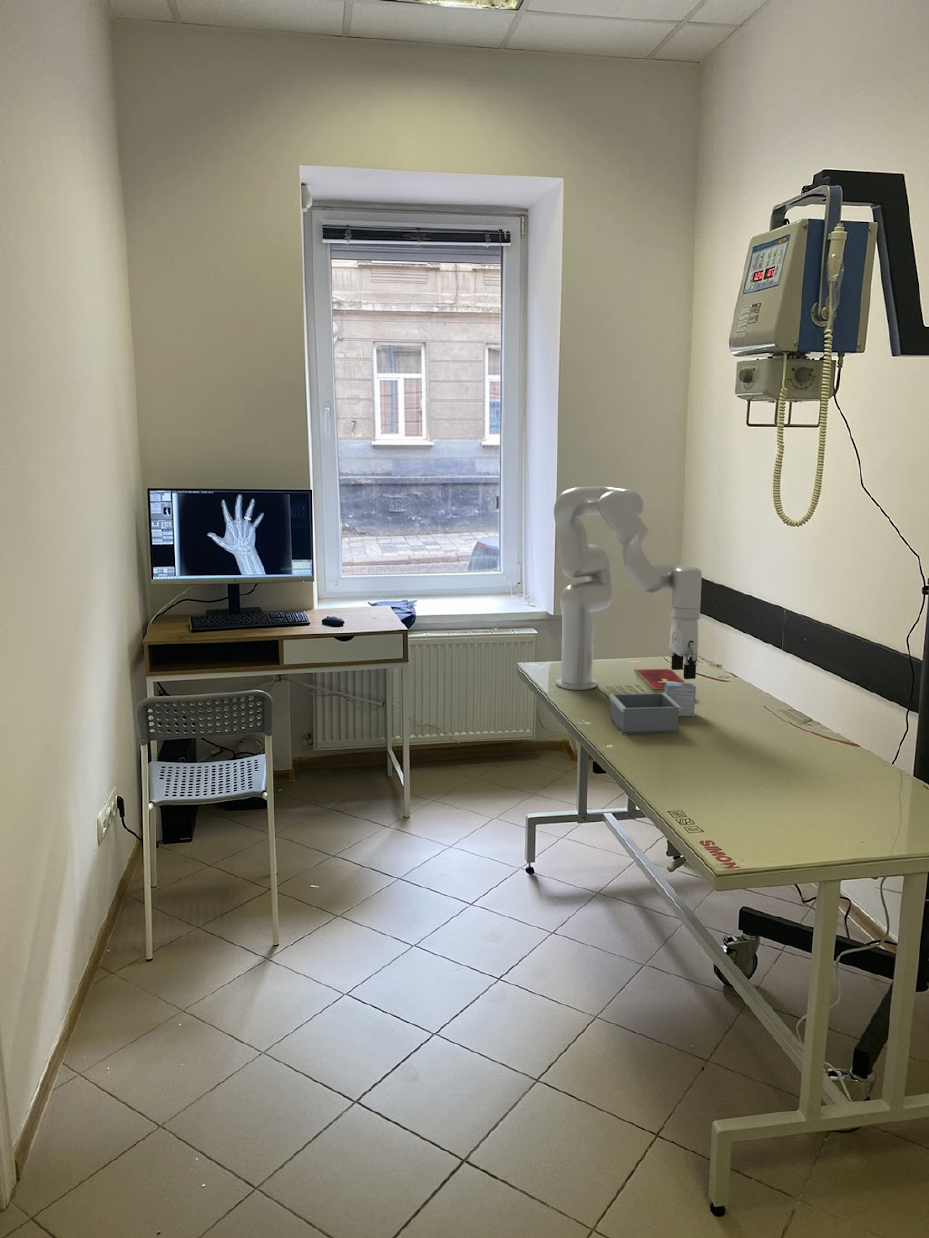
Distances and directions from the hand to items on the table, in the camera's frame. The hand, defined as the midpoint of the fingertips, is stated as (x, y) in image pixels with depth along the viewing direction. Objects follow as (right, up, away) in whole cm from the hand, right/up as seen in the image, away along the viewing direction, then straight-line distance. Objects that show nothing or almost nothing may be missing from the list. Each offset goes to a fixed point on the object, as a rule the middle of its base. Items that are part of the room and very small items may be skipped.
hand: (683, 674), depth 250 cm
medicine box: (-1, -12, +3) cm, 12 cm away
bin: (-12, -13, -7) cm, 20 cm away
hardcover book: (0, -7, +26) cm, 27 cm away
